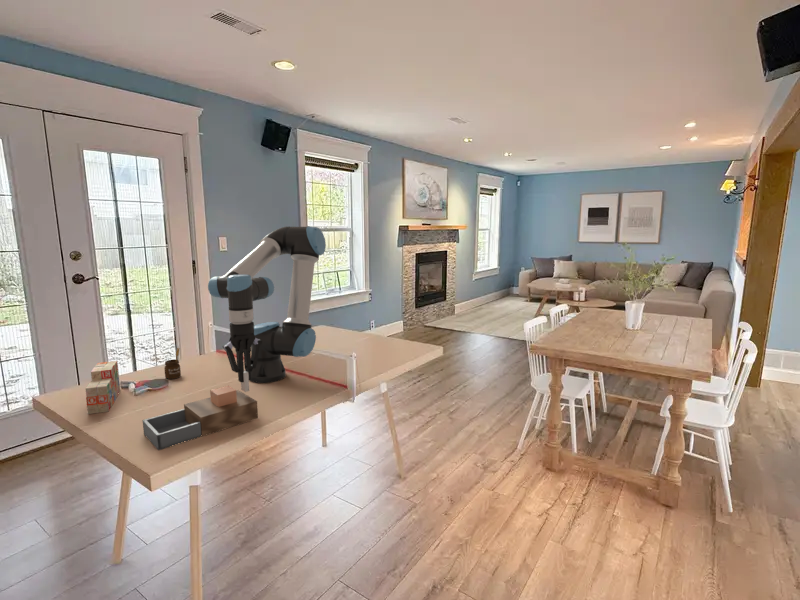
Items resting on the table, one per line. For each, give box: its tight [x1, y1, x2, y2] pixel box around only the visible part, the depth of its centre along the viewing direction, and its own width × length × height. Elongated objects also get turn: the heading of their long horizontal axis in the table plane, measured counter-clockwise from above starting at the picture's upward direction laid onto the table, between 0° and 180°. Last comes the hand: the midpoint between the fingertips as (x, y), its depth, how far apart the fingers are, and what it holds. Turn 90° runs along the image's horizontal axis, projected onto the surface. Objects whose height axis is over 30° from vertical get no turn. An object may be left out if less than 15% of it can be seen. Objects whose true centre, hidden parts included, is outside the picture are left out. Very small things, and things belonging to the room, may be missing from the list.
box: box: [142, 408, 202, 451], centre depth 131 cm, size 12×14×4 cm
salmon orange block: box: [209, 385, 237, 407], centre depth 141 cm, size 6×6×4 cm
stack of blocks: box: [85, 360, 121, 415], centre depth 156 cm, size 21×6×12 cm, turn 24°
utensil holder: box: [163, 347, 182, 380], centre depth 182 cm, size 6×6×12 cm
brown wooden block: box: [183, 389, 259, 437], centre depth 141 cm, size 18×14×6 cm
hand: (245, 390), depth 146 cm, fingers closed
